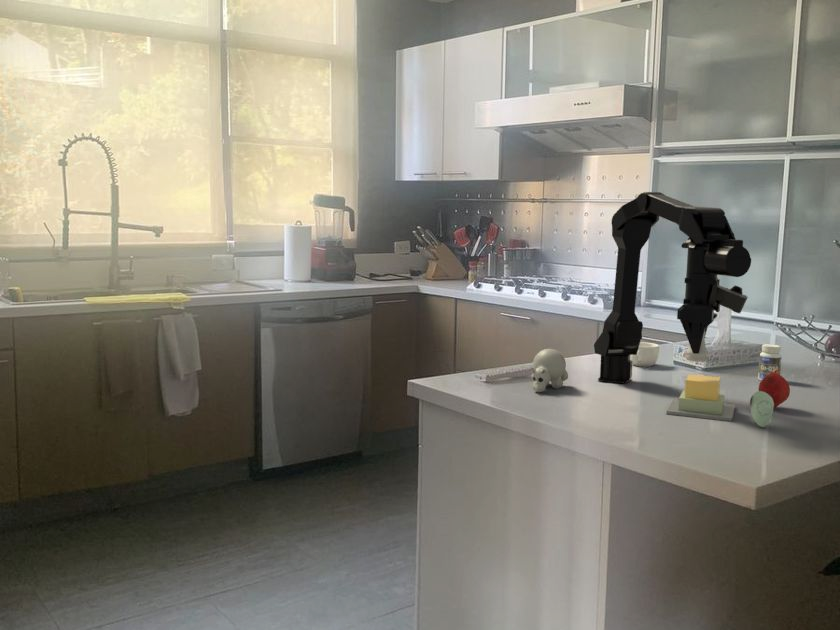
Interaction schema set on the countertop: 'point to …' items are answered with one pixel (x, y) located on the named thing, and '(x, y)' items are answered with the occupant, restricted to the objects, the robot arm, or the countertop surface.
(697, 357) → the rook chess piece
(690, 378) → the ochre brick
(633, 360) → the teacup
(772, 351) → the pill bottle
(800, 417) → the countertop surface
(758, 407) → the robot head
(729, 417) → the baseplate
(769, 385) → the onion
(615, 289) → the robot arm
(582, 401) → the countertop surface
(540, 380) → the cream plastic animal figure
